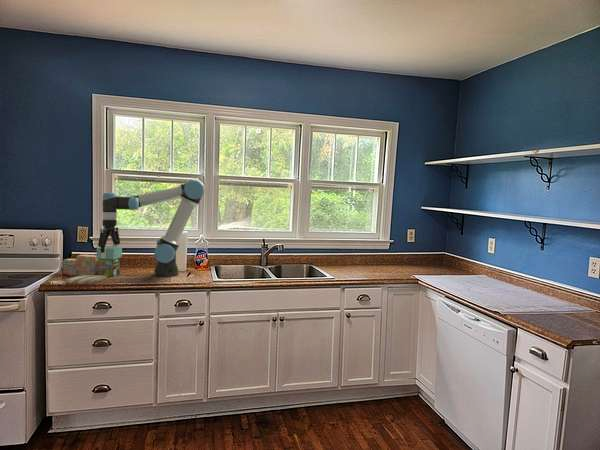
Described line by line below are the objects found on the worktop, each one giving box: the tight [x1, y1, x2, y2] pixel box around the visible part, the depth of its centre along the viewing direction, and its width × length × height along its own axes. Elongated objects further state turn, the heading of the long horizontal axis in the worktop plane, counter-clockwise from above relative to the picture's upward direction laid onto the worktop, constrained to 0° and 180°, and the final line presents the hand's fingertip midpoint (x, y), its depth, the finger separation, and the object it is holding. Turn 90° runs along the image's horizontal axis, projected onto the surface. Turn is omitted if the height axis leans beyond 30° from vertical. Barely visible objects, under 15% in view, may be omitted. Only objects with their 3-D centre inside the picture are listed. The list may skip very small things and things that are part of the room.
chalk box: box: [99, 257, 121, 278], centre depth 250 cm, size 9×9×15 cm
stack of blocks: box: [62, 254, 99, 276], centre depth 251 cm, size 21×6×12 cm, turn 84°
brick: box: [96, 245, 123, 259], centre depth 236 cm, size 10×10×6 cm
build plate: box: [63, 274, 108, 285], centre depth 235 cm, size 16×16×2 cm
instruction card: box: [44, 280, 68, 285], centre depth 227 cm, size 10×7×1 cm
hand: (109, 256), depth 236 cm, fingers closed on brick, 10 cm apart
